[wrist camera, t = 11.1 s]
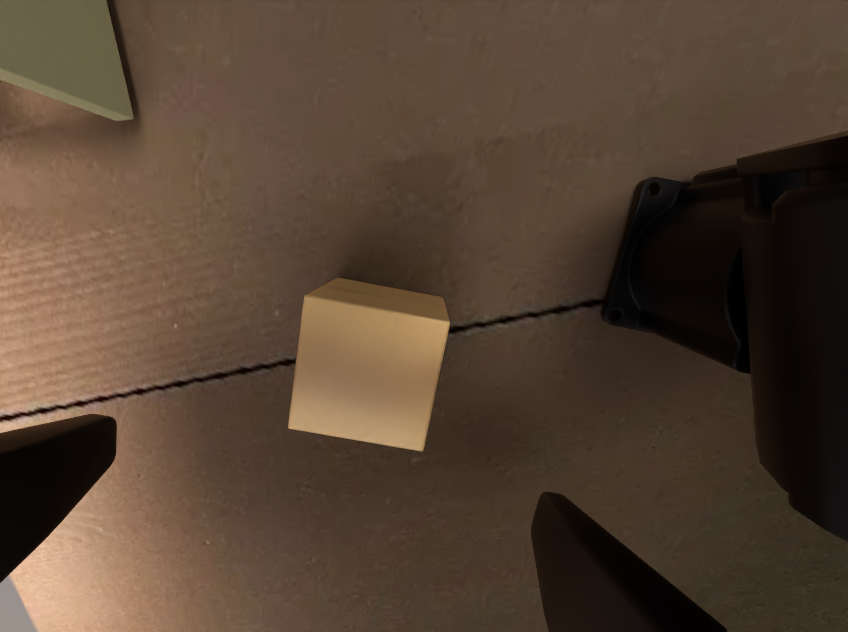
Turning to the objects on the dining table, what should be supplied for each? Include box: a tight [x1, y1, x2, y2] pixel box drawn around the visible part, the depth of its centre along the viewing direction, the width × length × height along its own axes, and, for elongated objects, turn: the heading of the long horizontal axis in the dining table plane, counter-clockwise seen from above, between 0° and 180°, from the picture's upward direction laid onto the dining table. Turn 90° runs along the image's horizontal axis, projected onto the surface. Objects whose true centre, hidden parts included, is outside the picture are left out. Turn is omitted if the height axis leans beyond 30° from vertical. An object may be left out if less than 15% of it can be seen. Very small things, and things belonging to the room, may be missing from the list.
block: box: [288, 278, 450, 451], centre depth 16 cm, size 5×5×5 cm
